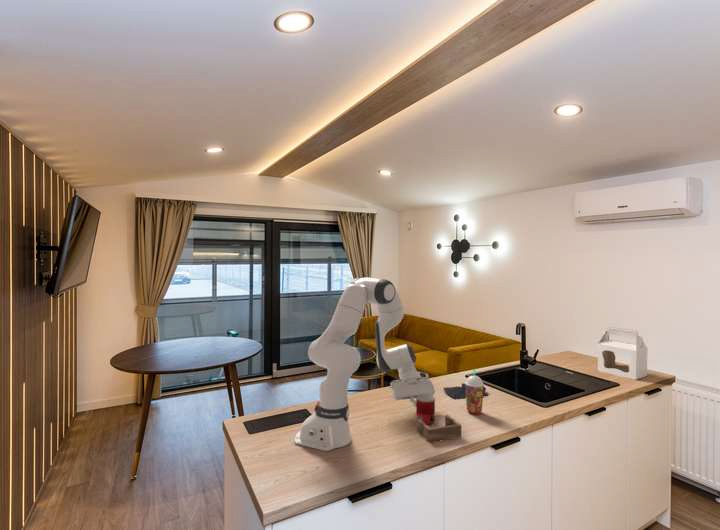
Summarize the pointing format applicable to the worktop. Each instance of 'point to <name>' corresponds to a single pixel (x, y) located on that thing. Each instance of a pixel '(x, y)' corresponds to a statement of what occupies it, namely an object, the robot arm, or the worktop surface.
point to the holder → (440, 430)
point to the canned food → (425, 409)
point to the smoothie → (474, 394)
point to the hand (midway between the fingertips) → (418, 406)
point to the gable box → (636, 353)
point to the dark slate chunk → (459, 392)
